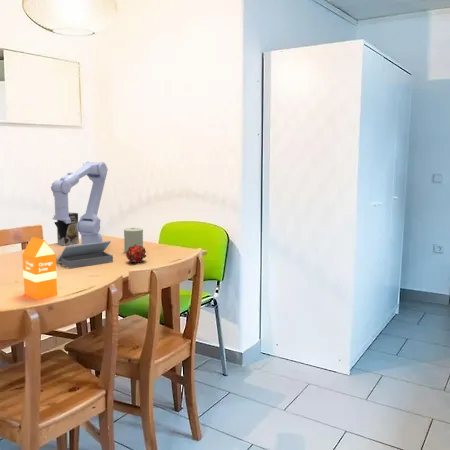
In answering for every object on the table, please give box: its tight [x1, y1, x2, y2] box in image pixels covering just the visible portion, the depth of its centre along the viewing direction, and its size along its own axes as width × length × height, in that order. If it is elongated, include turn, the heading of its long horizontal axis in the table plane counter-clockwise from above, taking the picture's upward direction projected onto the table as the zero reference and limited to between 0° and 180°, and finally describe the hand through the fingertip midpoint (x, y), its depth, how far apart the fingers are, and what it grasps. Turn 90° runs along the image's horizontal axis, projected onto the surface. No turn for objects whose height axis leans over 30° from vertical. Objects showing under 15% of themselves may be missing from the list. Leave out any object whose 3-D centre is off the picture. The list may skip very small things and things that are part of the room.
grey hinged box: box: [60, 251, 114, 269], centre depth 217 cm, size 20×9×3 cm, turn 130°
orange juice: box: [21, 236, 58, 300], centre depth 170 cm, size 8×9×20 cm
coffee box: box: [56, 212, 80, 247], centre depth 257 cm, size 9×6×16 cm
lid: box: [56, 240, 112, 263], centre depth 219 cm, size 20×14×3 cm
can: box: [123, 227, 144, 255], centre depth 238 cm, size 9×9×12 cm
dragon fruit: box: [125, 244, 147, 264], centre depth 219 cm, size 8×8×12 cm
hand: (62, 237), depth 220 cm, fingers closed
